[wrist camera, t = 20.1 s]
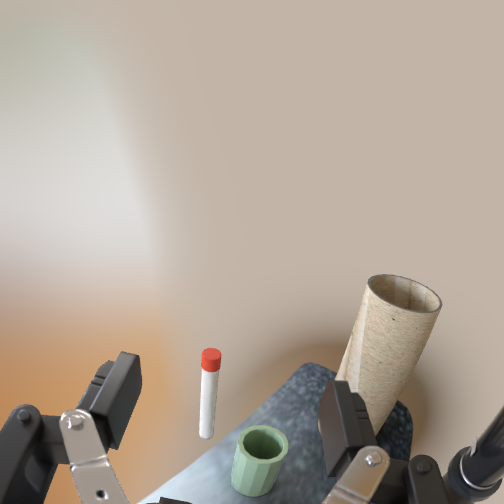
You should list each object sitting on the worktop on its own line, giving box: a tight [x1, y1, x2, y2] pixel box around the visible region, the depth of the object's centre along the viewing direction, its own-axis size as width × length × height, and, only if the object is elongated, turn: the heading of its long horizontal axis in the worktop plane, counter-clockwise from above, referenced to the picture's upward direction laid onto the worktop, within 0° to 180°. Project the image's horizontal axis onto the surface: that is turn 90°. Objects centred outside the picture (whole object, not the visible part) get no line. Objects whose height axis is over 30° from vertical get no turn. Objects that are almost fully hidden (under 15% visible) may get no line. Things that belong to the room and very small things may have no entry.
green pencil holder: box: [231, 425, 289, 497], centre depth 32 cm, size 6×6×10 cm
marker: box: [200, 348, 221, 439], centre depth 38 cm, size 2×2×16 cm
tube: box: [318, 274, 442, 436], centre depth 40 cm, size 10×10×25 cm
